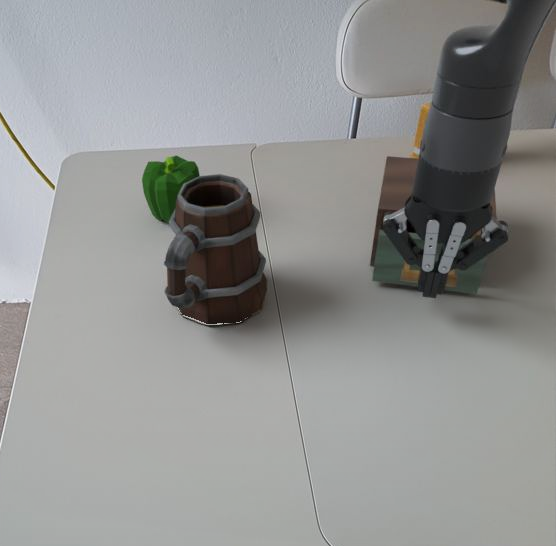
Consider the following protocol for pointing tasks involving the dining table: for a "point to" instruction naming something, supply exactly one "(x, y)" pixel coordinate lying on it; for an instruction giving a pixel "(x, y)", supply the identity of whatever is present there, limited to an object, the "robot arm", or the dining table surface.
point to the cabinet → (399, 192)
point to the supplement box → (420, 130)
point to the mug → (215, 252)
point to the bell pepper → (166, 184)
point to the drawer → (399, 272)
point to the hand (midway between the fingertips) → (428, 293)
